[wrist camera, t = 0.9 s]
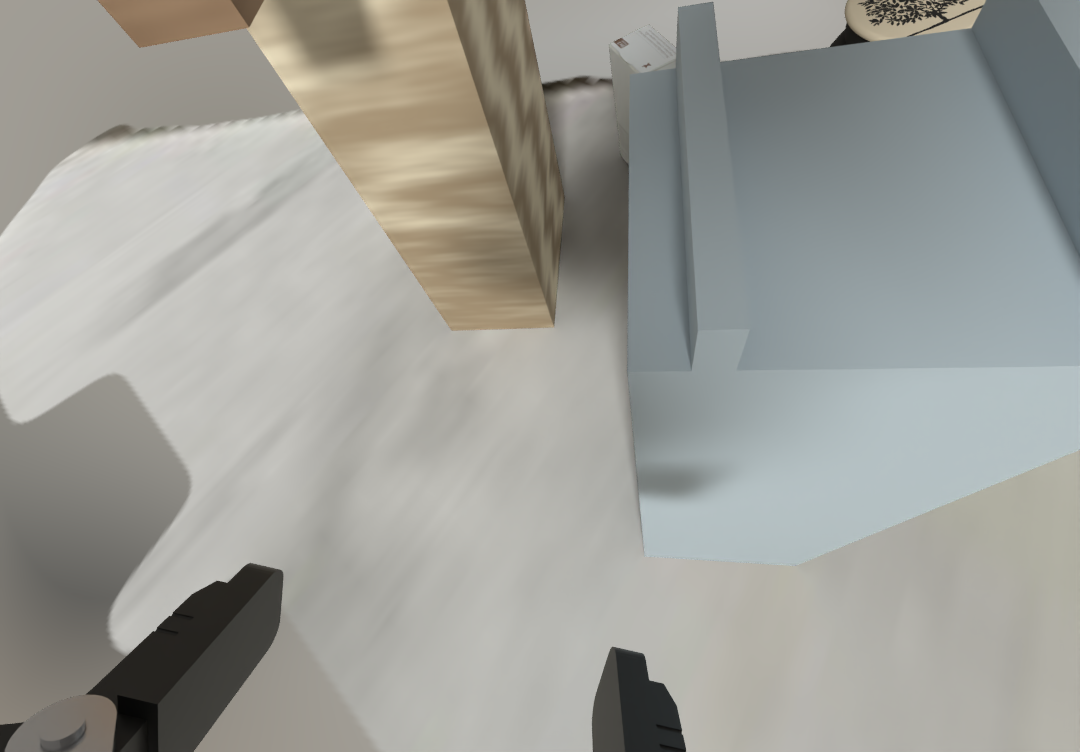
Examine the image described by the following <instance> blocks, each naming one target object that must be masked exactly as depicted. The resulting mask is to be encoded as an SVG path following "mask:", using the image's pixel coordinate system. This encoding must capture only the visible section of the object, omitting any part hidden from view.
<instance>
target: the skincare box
mask: <svg viewBox="0 0 1080 752" xmlns="http://www.w3.org/2000/svg"><path fill="white" fill-rule="evenodd" d="M609 52H610V62H611V71H612V81H613V90H614V99H615V108H616V118H617V127H618V136H619V146H620V155H621V157H622V158H623V159H624V160H625V161H626V163H627V164H628V165H629V107H630V74H637V73H644V72H651V71H659V70H666V69H674V68H676V47H675V46H674V45H673V44H671V43H670V42H669V41H668V40H667V39H665V38H664V37H663V36H662V35H661V34H659V33H658V32H657V31H656V30H655V29H654V28H652V27H651V26H650V25H646V26H644V27H642V28H639V29H638V30H636V31H634V32H632V33H630V34H628V35H626V36H624V37H622V38H620V39H618V40H617V41H615V42H612V43H610V45H609Z"/></svg>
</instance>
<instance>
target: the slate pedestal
mask: <svg viewBox="0 0 1080 752" xmlns="http://www.w3.org/2000/svg"><path fill="white" fill-rule="evenodd" d="M627 373H628V384H629V395H630V405H631V416H632V427H633V437H634V448H635V458H636V469H637V480H638V490H639V501H640V512H641V522H642V533H643V544H644V554H645V556H648V557H664V558H680V559H696V560H712V561H728V562H744V563H760V564H775V565H791V566H796V565H798V564H801V563H803V562H806V561H808V560H811V559H813V558H816V557H818V556H820V555H823V554H825V553H828V552H830V551H833V550H835V549H838V548H840V547H843V546H845V545H847V544H850V543H852V542H855V541H857V540H860V539H862V538H865V537H867V536H870V535H872V534H874V533H877V532H879V531H882V530H884V529H887V528H889V527H892V526H894V525H897V524H899V523H901V522H904V521H906V520H909V519H911V518H914V517H916V516H919V515H921V514H923V513H926V512H928V511H931V510H933V509H936V508H938V507H941V506H943V505H946V504H948V503H950V502H953V501H955V500H958V499H960V498H963V497H965V496H968V495H970V494H973V493H975V492H977V491H980V490H982V489H985V488H987V487H990V486H992V485H995V484H997V483H1000V482H1002V481H1004V480H1007V479H1009V478H1012V477H1014V476H1017V475H1019V474H1022V473H1024V472H1026V471H1029V470H1031V469H1034V468H1036V467H1039V466H1041V465H1044V464H1046V463H1049V462H1051V461H1053V460H1056V459H1058V458H1061V457H1063V456H1066V455H1068V454H1071V453H1073V452H1076V451H1078V450H1080V0H986V2H985V4H984V5H983V7H982V9H981V11H980V13H979V15H978V17H977V19H976V20H975V22H974V24H973V26H972V28H968V29H961V30H953V31H946V32H939V33H931V34H924V35H916V36H909V37H902V38H894V39H887V40H880V41H872V42H865V43H858V44H850V45H843V46H835V47H828V48H821V49H813V50H806V51H799V52H791V53H784V54H777V55H769V56H762V57H754V58H747V59H740V60H732V61H725V62H720V58H719V49H718V41H717V31H716V22H715V13H714V5H713V2H709V3H703V4H696V5H690V6H684V7H678V24H677V47H676V68H674V69H666V70H659V71H651V72H644V73H637V74H630V107H629V232H628V357H627Z"/></svg>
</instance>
